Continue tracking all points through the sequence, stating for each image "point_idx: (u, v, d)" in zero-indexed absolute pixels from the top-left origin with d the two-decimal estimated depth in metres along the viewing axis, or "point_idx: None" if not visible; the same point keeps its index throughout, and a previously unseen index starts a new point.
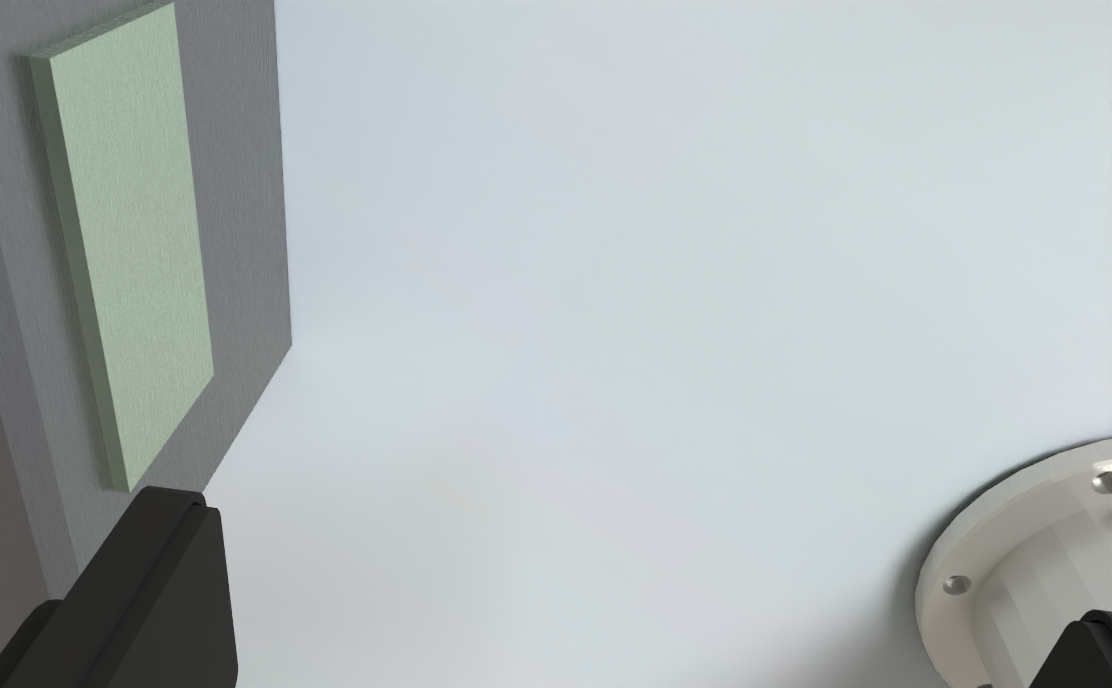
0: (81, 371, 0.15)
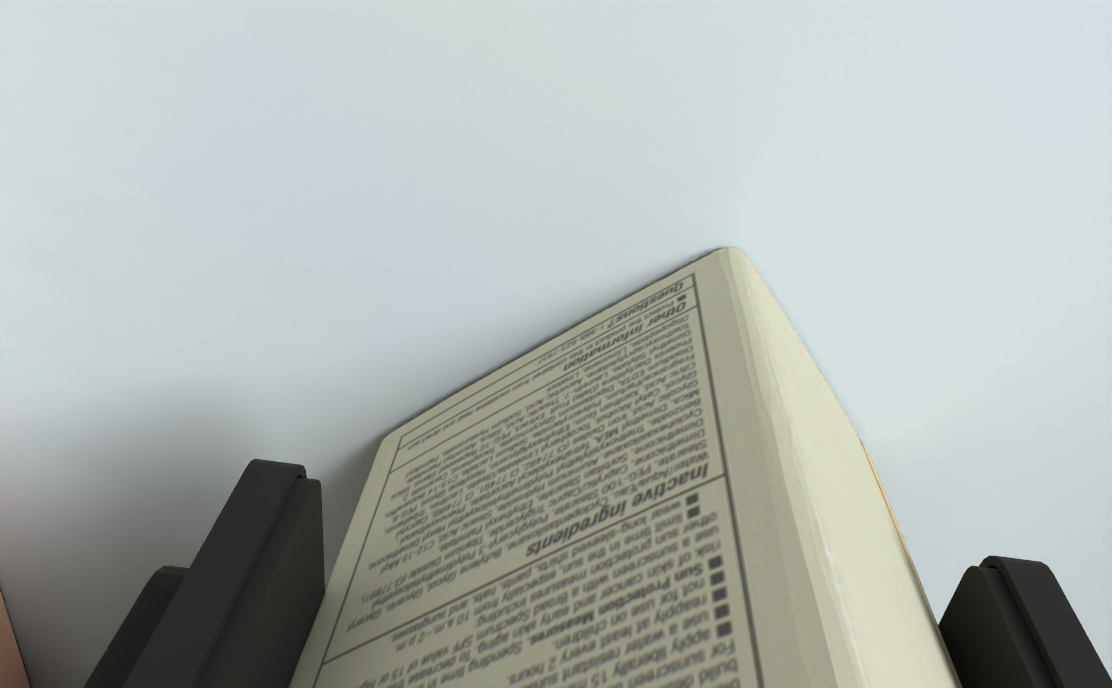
0: None
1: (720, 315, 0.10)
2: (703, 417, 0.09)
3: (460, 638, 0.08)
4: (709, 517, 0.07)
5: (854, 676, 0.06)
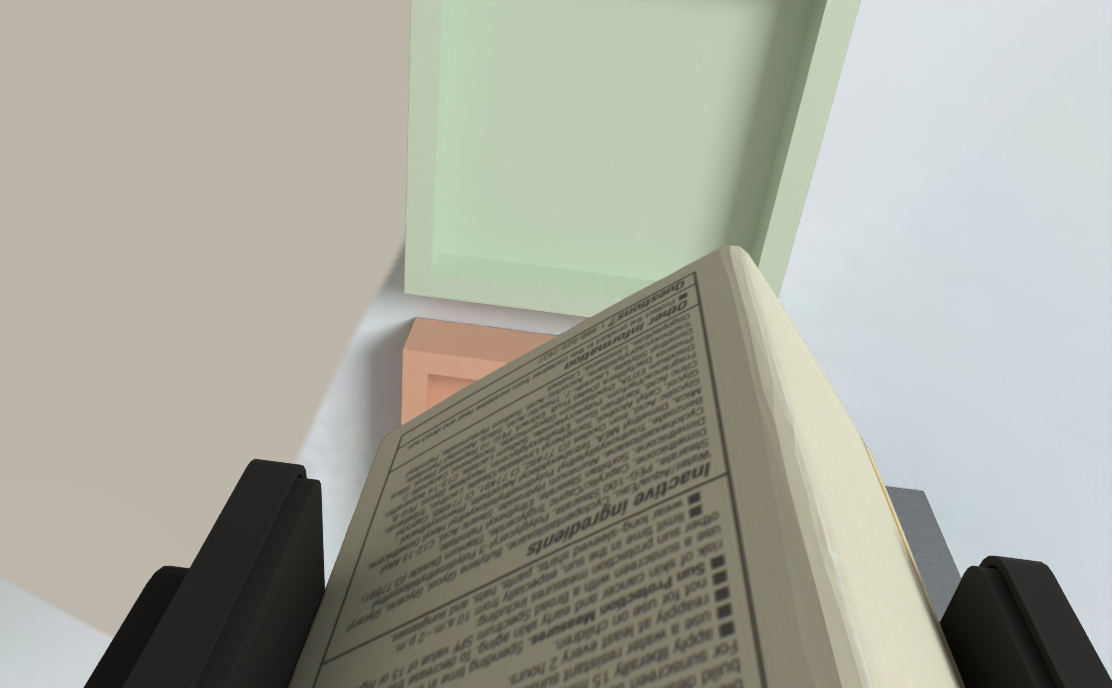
0: None
1: (721, 313, 0.10)
2: (705, 417, 0.09)
3: (460, 639, 0.08)
4: (713, 516, 0.07)
5: (859, 676, 0.06)
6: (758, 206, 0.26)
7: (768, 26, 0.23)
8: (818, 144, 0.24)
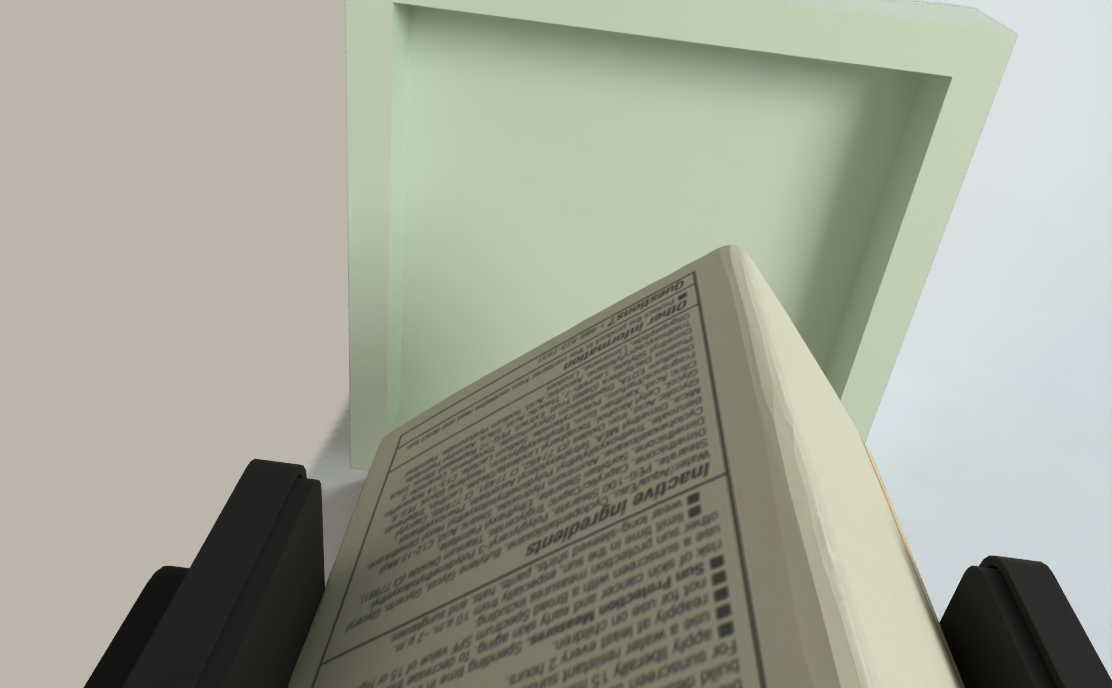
0: None
1: (721, 313, 0.10)
2: (703, 416, 0.09)
3: (459, 639, 0.08)
4: (711, 516, 0.07)
5: (857, 677, 0.06)
6: (823, 359, 0.19)
7: (848, 132, 0.17)
8: (917, 295, 0.17)
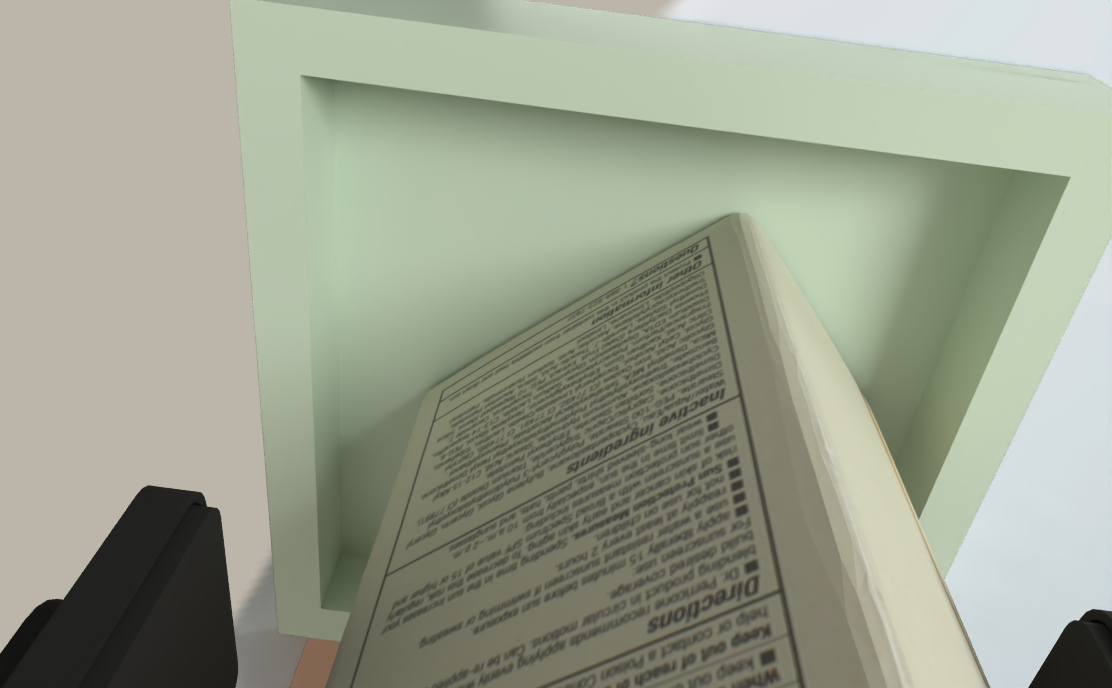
0: None
1: (733, 269, 0.11)
2: (719, 352, 0.10)
3: (511, 542, 0.10)
4: (727, 428, 0.09)
5: (849, 534, 0.07)
6: None
7: (915, 234, 0.13)
8: (1004, 447, 0.13)
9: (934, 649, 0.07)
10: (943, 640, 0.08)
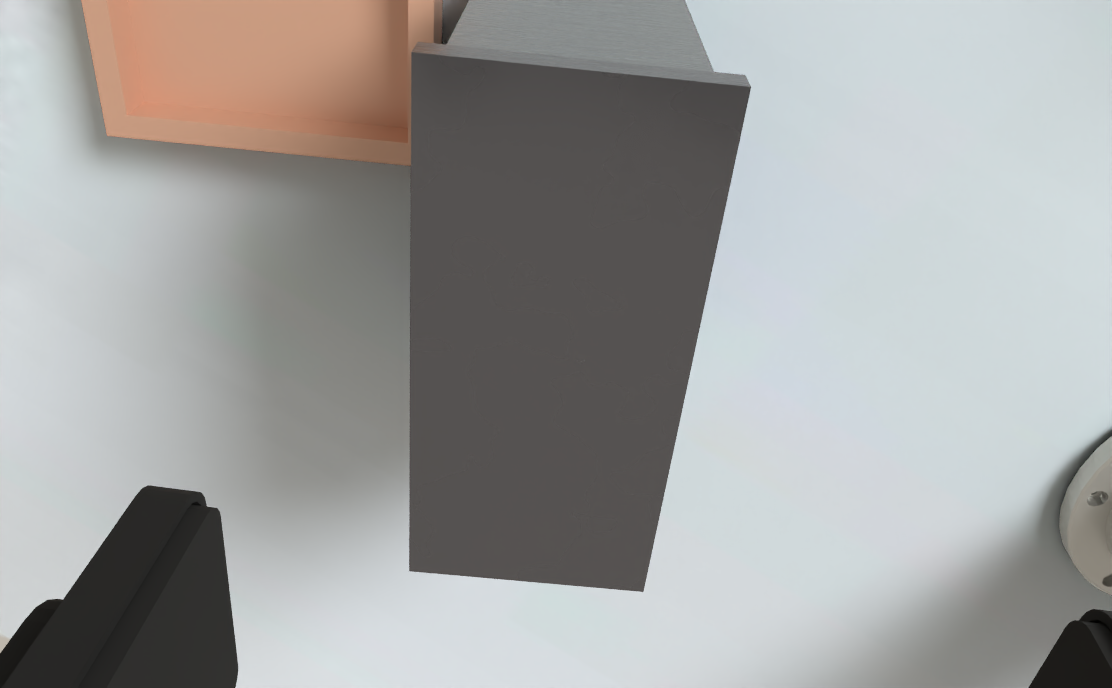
0: None
1: None
2: None
3: None
4: None
5: None
6: None
7: None
8: None
9: None
10: None
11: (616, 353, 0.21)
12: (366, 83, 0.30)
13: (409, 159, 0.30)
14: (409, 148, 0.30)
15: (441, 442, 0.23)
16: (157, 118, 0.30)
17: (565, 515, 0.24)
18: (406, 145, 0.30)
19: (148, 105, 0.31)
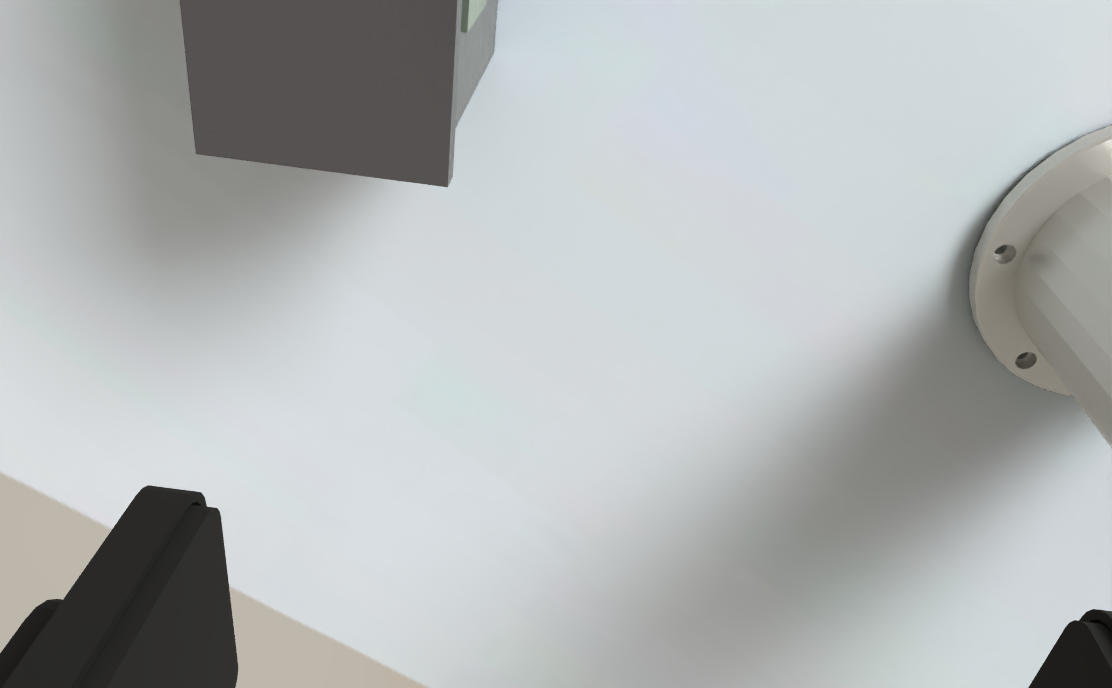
0: None
1: None
2: None
3: None
4: None
5: None
6: None
7: None
8: None
9: None
10: None
11: None
12: None
13: None
14: None
15: None
16: None
17: (353, 72, 0.22)
18: None
19: None
